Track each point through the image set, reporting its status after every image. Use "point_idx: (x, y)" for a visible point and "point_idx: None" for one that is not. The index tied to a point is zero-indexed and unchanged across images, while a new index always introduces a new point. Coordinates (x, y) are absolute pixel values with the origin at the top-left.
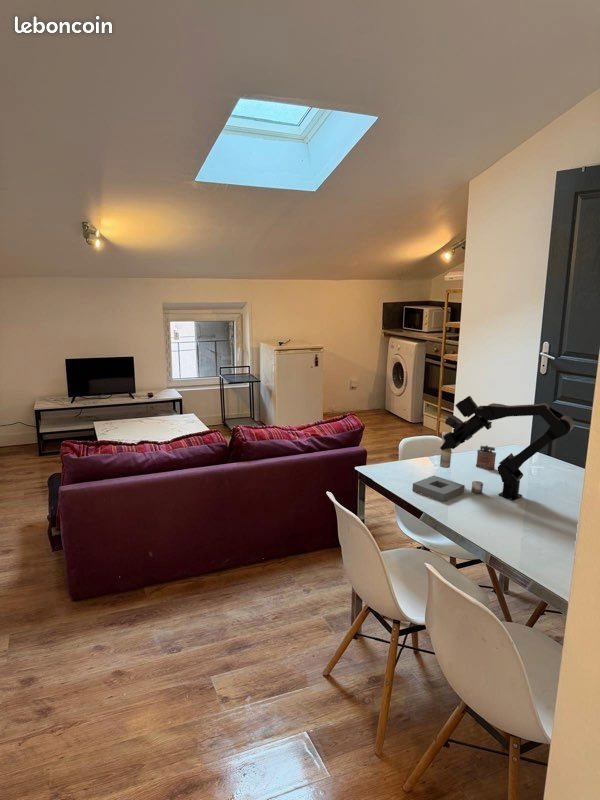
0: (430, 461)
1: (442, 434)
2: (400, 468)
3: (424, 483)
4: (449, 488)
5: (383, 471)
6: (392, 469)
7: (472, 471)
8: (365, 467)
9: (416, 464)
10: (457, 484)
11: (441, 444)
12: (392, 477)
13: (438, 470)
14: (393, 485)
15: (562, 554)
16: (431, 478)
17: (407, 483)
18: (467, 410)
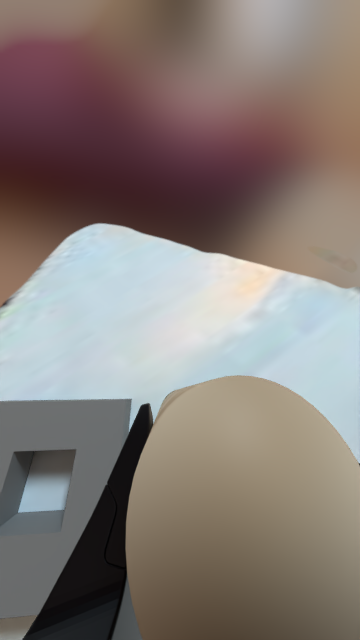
0: (267, 291)
1: (159, 416)
2: (160, 274)
3: (10, 435)
4: (7, 578)
5: (108, 262)
6: (138, 267)
7: None
8: (103, 227)
9: (218, 282)
10: None
11: (175, 392)
12: (83, 297)
13: (232, 344)
14: (22, 334)
15: None
16: (85, 416)
17: (65, 350)
18: None
